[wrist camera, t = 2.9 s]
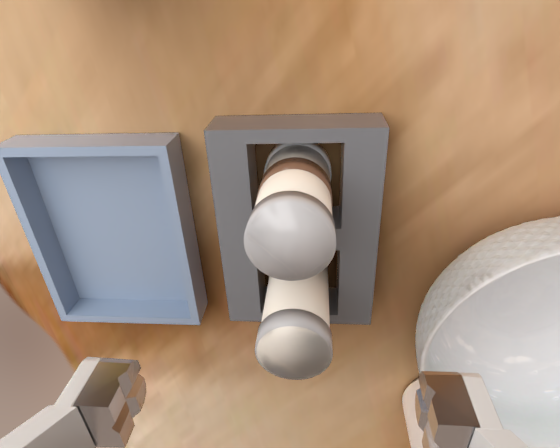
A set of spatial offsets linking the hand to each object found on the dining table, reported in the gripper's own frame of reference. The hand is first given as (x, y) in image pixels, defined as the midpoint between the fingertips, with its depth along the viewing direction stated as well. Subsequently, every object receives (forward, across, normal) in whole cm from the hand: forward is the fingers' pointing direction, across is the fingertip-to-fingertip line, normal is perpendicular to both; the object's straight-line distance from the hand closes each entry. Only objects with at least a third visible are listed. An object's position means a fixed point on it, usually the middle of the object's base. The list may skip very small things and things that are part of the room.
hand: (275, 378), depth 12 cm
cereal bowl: (+17, +16, -10) cm, 25 cm away
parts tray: (+16, -13, -5) cm, 22 cm away
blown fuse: (+16, 0, 0) cm, 17 cm away
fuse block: (+16, 0, -4) cm, 17 cm away
